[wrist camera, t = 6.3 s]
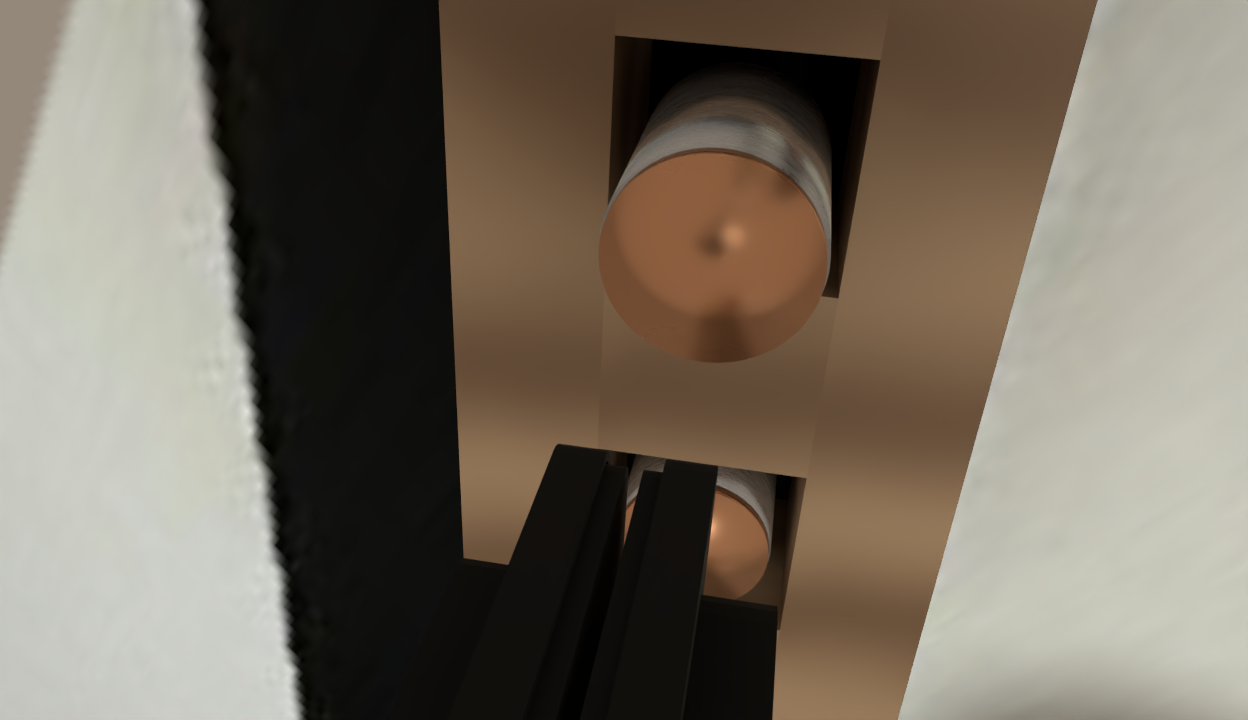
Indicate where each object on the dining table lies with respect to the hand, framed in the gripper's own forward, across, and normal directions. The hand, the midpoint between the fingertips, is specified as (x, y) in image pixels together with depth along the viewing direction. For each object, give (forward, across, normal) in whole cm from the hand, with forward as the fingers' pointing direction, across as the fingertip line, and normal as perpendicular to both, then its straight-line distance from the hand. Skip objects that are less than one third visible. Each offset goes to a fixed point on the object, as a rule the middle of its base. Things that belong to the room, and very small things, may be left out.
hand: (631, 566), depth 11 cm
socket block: (+15, 0, +4) cm, 16 cm away
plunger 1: (+11, 0, -1) cm, 11 cm away
